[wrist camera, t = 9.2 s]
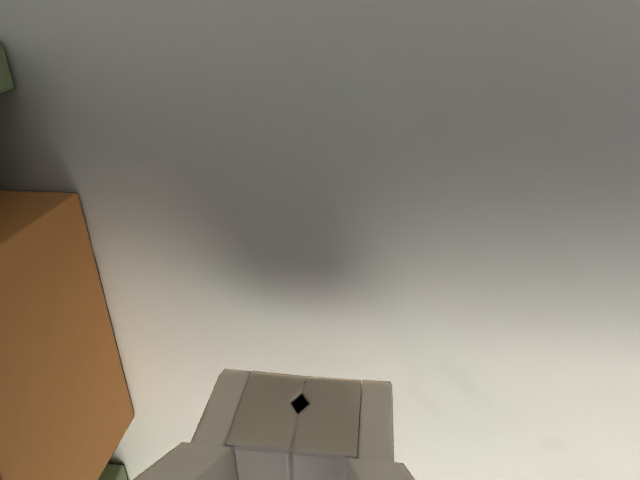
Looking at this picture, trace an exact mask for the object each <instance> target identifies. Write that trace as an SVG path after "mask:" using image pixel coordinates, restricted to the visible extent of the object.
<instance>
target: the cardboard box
mask: <svg viewBox="0 0 640 480" xmlns="http://www.w3.org/2000/svg"><path fill="white" fill-rule="evenodd" d="M133 418H134V413H133V409H132V405H131V401H130V397H129V393H128V389H127V386H126V382H125V378H124V374H123V370H122V366H121V362H120V358H119V354H118V350H117V346H116V342H115V338H114V334H113V330H112V326H111V322H110V318H109V314H108V311H107V307H106V303H105V299H104V295H103V291H102V287H101V283H100V279H99V275H98V271H97V267H96V263H95V259H94V255H93V251H92V247H91V243H90V239H89V235H88V232H87V228H86V224H85V220H84V216H83V212H82V208H81V204H80V200H79V196H78V194H77V193H57V192H28V191H0V480H98V479H99V477H100V475H101V473H102V472H103V470H104V468H105V466H106V465H107V463H108V461H109V459H110V458H111V456H112V454H113V453H114V451H115V449H116V447H117V446H118V444H119V442H120V440H121V439H122V437H123V435H124V433H125V432H126V430H127V428H128V427H129V425H130V423H131V421H132V420H133Z"/></svg>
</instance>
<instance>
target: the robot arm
mask: <svg viewBox="0 0 640 480" xmlns="http://www.w3.org/2000/svg"><path fill="white" fill-rule="evenodd" d="M360 406H361V407H360ZM133 480H415V479H414V477H413V476H412V474H411V473H410V472H409V470H408V469H407V468H406V466H405V465H404V463H397V462H394V435H393V395H392V384H391V382H389V381H374V380H362V387H361V380H355V379H341V378H327V377H312V376H307V377H306V376H298V375H288V374H278V373H269V372H259V371H243V370H234V369H224V370H223V371H222V372H221V374H220V375H219V377H218V379H217V382H216V384H215V386H214V389H213V391H212V393H211V396H210V398H209V400H208V403H207V405H206V408H205V410H204V412H203V415H202V417H201V419H200V422H199V424H198V426H197V429H196V431H195V433H194V436H193V438H192V441H191V443H188V442H181V443H180V444H179V445H178V446H176V447H175V448H174V449H172V450H171V451H170V452H168V453H167V454H166V455H164V456H163V457H162V458H161V459H159V460H158V461H157V462H155V463H154V464H153V465H151V466H150V467H149V468H147V469H146V470H145V471H144V472H142V473H141V474H140V475H138V476H137V477H136V478H134V479H133Z"/></svg>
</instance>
